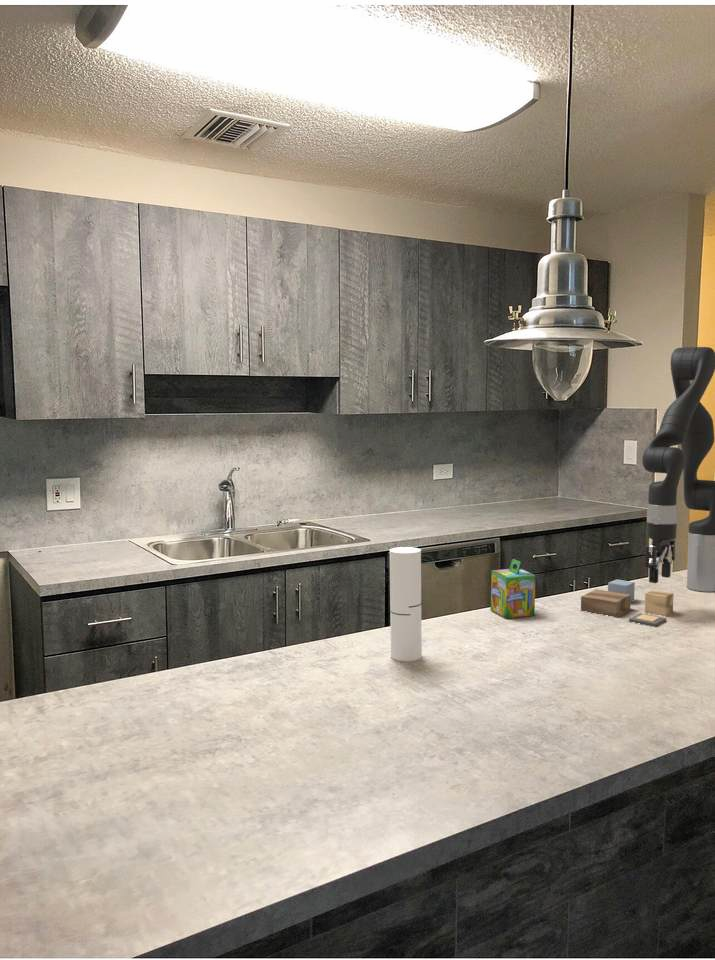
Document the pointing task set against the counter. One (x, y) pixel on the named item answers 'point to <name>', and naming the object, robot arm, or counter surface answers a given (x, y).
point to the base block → (606, 602)
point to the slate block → (622, 587)
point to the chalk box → (513, 592)
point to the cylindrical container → (405, 603)
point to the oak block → (659, 602)
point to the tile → (647, 619)
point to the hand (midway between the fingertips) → (659, 579)
